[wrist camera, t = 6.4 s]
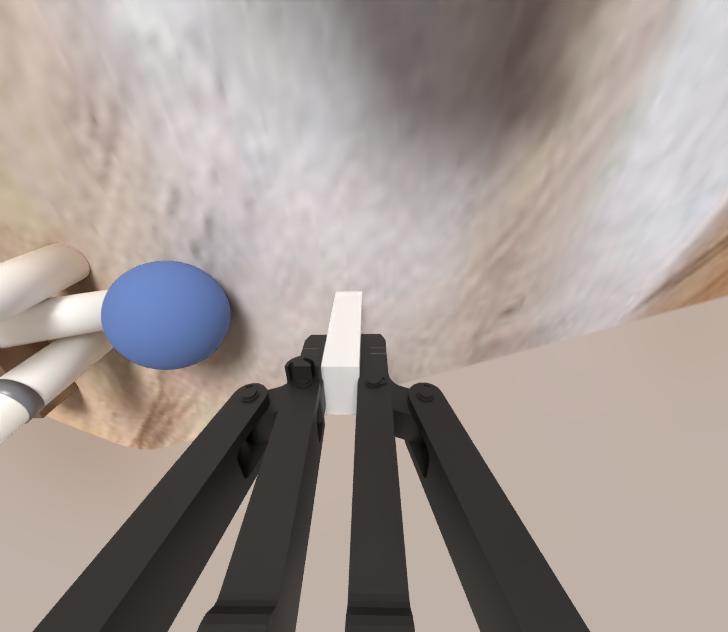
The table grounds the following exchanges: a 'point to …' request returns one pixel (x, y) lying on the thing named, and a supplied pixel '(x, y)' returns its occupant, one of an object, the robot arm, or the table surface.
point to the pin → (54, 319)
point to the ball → (165, 315)
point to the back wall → (15, 355)
